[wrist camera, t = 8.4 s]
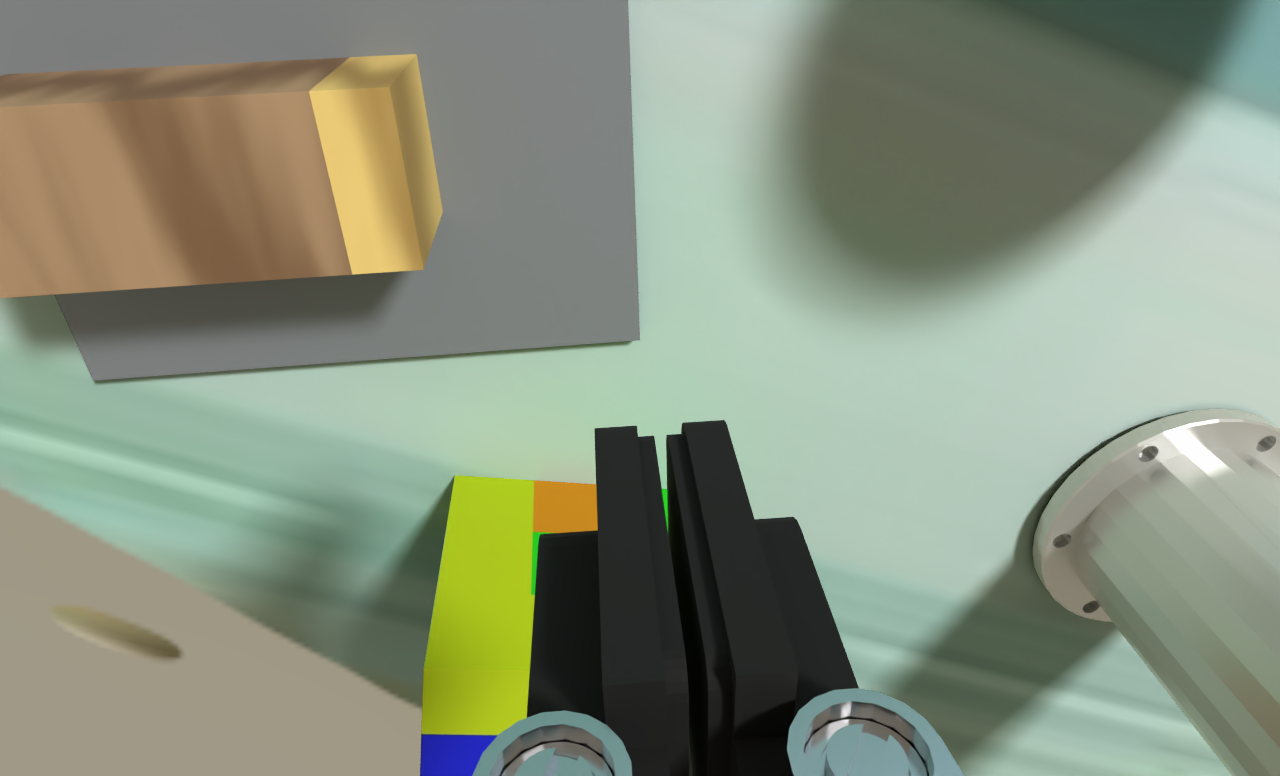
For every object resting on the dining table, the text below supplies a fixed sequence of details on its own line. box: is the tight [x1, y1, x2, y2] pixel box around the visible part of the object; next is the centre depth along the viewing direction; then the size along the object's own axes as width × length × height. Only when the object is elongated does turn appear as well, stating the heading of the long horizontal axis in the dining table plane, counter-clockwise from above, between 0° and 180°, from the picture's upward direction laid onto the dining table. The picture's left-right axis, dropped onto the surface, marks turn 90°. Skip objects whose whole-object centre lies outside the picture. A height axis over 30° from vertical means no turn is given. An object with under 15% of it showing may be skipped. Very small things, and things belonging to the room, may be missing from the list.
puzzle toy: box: [420, 475, 692, 776], centre depth 33 cm, size 10×10×10 cm
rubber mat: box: [0, 0, 640, 381], centre depth 26 cm, size 20×16×1 cm
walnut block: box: [0, 54, 443, 298], centre depth 23 cm, size 5×5×12 cm
